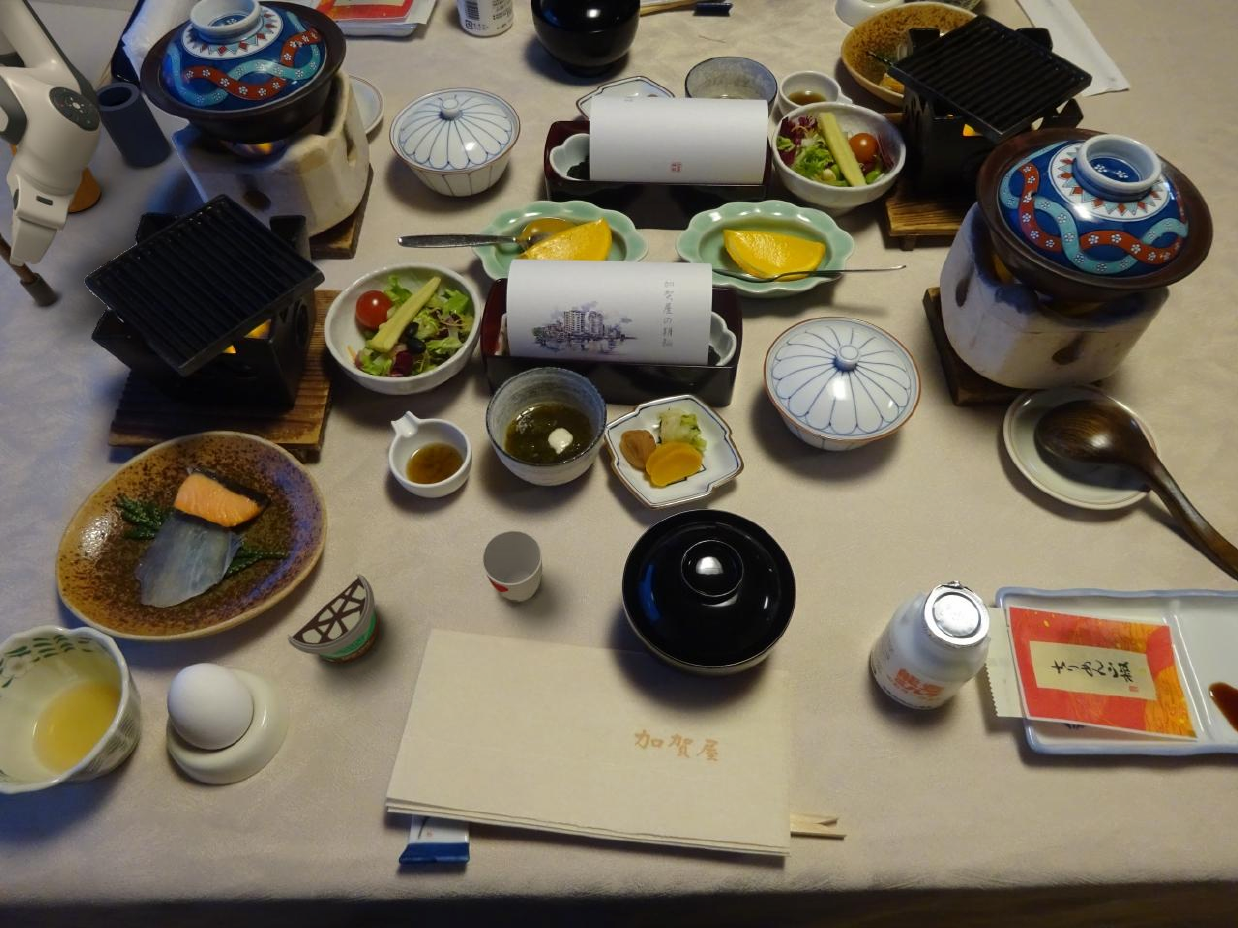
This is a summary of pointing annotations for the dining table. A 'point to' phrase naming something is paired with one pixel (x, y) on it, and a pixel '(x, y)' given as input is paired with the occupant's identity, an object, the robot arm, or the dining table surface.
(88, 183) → the wine bottle
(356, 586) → the food container
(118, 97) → the dark gray hollow cylinder
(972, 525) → the dining table surface
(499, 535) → the cup
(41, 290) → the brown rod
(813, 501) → the dining table surface
